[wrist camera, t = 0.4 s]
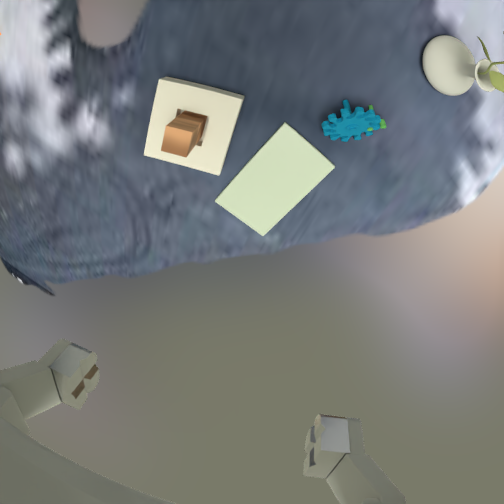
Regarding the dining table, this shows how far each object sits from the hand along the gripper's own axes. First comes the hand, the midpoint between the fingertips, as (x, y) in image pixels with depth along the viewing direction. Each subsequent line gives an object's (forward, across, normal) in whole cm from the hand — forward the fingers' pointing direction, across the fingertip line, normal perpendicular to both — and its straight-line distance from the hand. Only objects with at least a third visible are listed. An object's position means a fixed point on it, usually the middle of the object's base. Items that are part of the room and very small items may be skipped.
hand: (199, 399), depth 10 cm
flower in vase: (+48, -24, -30) cm, 61 cm away
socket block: (+48, +17, -8) cm, 51 cm away
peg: (+47, +17, -7) cm, 51 cm away
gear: (+50, -9, -13) cm, 53 cm away
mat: (+52, +2, +1) cm, 52 cm away
